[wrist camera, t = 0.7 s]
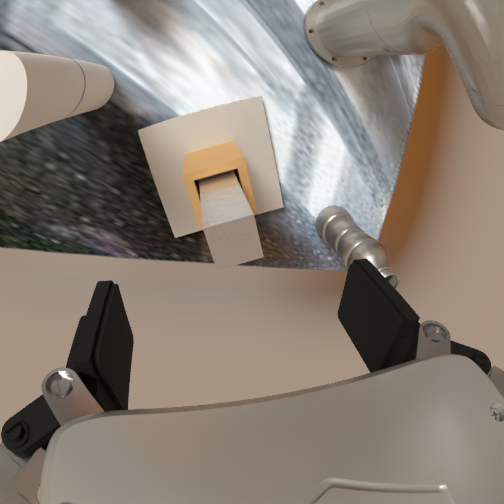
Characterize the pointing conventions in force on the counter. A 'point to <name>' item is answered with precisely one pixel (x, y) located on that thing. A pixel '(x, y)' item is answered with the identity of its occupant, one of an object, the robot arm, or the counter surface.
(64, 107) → the cylindrical container
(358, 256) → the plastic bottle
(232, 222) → the steel column
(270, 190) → the stand base
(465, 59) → the robot arm
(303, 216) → the counter surface
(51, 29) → the counter surface
